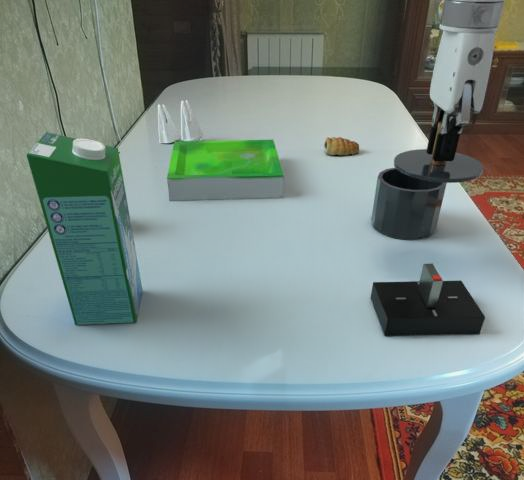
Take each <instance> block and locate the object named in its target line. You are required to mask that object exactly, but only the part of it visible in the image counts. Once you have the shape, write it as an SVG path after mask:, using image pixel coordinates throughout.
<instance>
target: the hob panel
mask: <svg viewBox="0 0 524 480" xmlns="http://www.w3.org/2000/svg"><path fill="white" fill-rule="evenodd" d="M419 281H420V280H419ZM419 281H417V280H415V281H414V280H413V281H373V282H372V287H371V292H370V301H371V303H372V307H373V309H374V312H375V315H376V317H377V320H378V322H379V325H380V327H381V330H382V333H383V336H384V337H394V336H395V337H396V336H397V337H401V336H438V335H439V336H440V335H443V336H444V335H480V334H481V332H482V328H483V326H484V322H485V320H486V316H485V314H484V312H483V311H482V310H481V308H480V306H479V305H478V304H477V302H476V300H475V299H474V297H473V296H472V294H471V293H470V291H469V290H468V288H467V287H466V285H465V284H464V282H463V281H462V280H461V279H460V280H459V279H458V280H443V283H442V287H441V291H440V295H439V299H438V303H437V306H436V308H427V307H426V305H425V303H424V301H423V299H422V297H421V295H420V293H419V291H418V286H419Z"/></svg>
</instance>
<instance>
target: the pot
mask: <svg viewBox="0 0 524 480" xmlns="http://www.w3.org/2000/svg"><path fill="white" fill-rule="evenodd" d="M447 184H448V183H442V182H432V181H426V180H421V179H417V178H414V177H410V176H408V175H405V174H403V173H401V172H400V171H398V170H397V169H396V168H395V167H390V168H385V169H384V170H382V171H380V172H379V173H378V175H377V179H376V185H375V192H374V198H373V199H374V200H373V205H372V213H371V218H370V219H371V220H370V222H371V226H372V228H373V229H374V230H375V231H376V232H378V233H379V234H381V235H383V236H385V237H389V238H393V239H397V240H402V241H403V240H406V241H415V240H422V239H426V238H429V237H431V236H433V235H434V234H435V233H436V231H437V226H438V222H439V217H440V214H441V210H442V205H443V201H444V197H445V192H446V188H447Z"/></svg>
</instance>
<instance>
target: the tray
mask: <svg viewBox="0 0 524 480" xmlns="http://www.w3.org/2000/svg"><path fill="white" fill-rule="evenodd" d="M171 150H172V151H171V156H170V160H169V161H170V162H169V165H168V170H167V177H166V183H167V190H168V199H169V202H175V201H176V202H177V201H178V202H179V201H180V202H181V201H182V202H183V201H211V200H212V201H214V200H248V199H249V200H250V199H279V198H281V199H282V198H283V199H284V183H285V182H284V181H285V174H284V172H283V171H284V170H283V168H282V164H281V161H280V157H279V154H278V151H277V148H276V143H275V141H274V139H240V140H239V139H237V140H235V139H234V140H199V141H174V142H173V146H172V149H171Z"/></svg>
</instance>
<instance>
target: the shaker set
mask: <svg viewBox="0 0 524 480" xmlns="http://www.w3.org/2000/svg"><path fill="white" fill-rule="evenodd" d="M157 128H158V144H159V145H160V144H170V143H174V142H177V140H180V139H181V142H183V141H201V138H202V137H203V136H204V133H203V131H202V129H201V126H200V124H199V122H198V119H197V117H196V115H195V113H194V110H193V109H192V106H191V104H190V103H189V101H188V100H187V99H186V100H181V101H180V133H179V131H178V130H177V127H176V125H175V123H174V120H173V118H172V117H171V115H170V112H169V111H168V109H167V106H166V105H165V104H162V106H161V104H158V105H157ZM180 135H181V136H180Z"/></svg>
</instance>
